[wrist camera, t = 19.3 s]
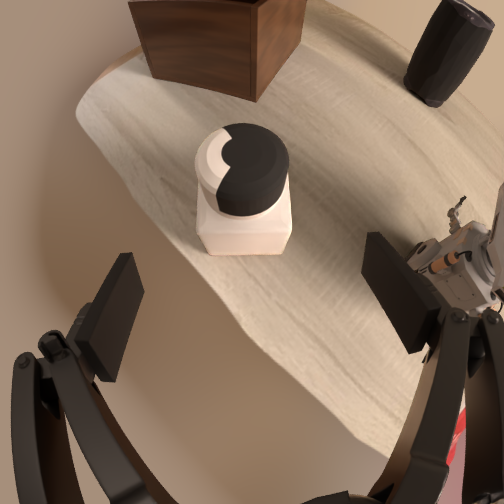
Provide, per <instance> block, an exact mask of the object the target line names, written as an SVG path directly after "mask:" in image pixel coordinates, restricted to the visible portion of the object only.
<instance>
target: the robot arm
mask: <svg viewBox="0 0 504 504" xmlns="http://www.w3.org/2000/svg"><path fill="white" fill-rule="evenodd" d="M361 274H362V275H363V277H364V278H365V280H366V282H367V283H368V285H369V286H370V288H371V290H372V291H373V293H374V294H375V296H376V298H377V299H378V301H379V303H380V304H381V306H382V308H383V309H384V311H385V313H386V315H387V316H388V318H389V320H390V321H391V323H392V325H393V327H394V328H395V330H396V332H397V334H398V336H399V337H400V339H401V341H402V343H403V345H404V346H405V348H406V350H407V352H408V354H412V353H416V352H419V351H422V349H423V347H424V345H425V343H426V342H427V344H428V345H429V347H430V348H429V350H428V352H427V354H426V356H425V357H424V359H423V361H422V363H424V362H425V363H424V366H423V370H422V374H421V377H420V380H419V384H418V387H417V390H416V393H415V396H414V399H413V402H412V405H411V408H410V411H409V413H408V416H407V419H406V421H405V424H404V426H403V429H402V431H401V434H400V436H399V439H398V441H397V443H396V446H395V448H394V450H393V452H392V454H391V457H390V459H389V461H388V463H387V465H386V467H385V469H384V471H383V473H382V475H381V476H380V478H379V479H378V480H377V482H376V483H375V484H374V486H373V487H372V489H371V490H370V492H369V494H368V495H367V496H362V495H353V494H349V493H348V491H343V492H339V493H335V494H331V495H326V496H321V497H317V498H314V499H312V500H309V501H307V502H304V503H302V504H437V503H438V501H439V498H440V495H441V493H442V491H443V488H444V485H445V483H446V480H447V477H448V473H449V466H448V465H447V464H446V460H447V456H448V453H449V450H450V446H451V443H452V439H453V436H454V432H455V428H456V424H457V420H458V415H459V411H460V406H461V401H462V395H463V390H464V388H465V405H466V450H465V467H464V477H463V487H462V504H504V321H503V319H502V317H501V315H500V314H499V313H498V312H497V311H495V310H493V309H485V310H483V312H482V314H481V316H480V317H469V315H468V313H466V312H465V311H464V310H462V309H460V308H456V307H453V308H452V307H451V305H450V304H449V303H448V302H447V300H446V299H445V298H444V297H443V295H442V294H441V293H440V292H439V291H438V289H437V288H436V287H435V286H434V285H433V283H432V282H431V281H430V280H429V278H427V277H426V276H424V275H423V274H421V273H415V272H414V270H413V269H412V268H411V267H410V266H409V265H408V263H407V262H406V261H405V260H404V259H403V258H402V256H401V255H400V254H399V253H398V252H397V251H396V250H395V249H394V247H393V246H392V245H391V244H390V243H389V242H388V241H387V240H386V239H385V238H384V237H383V235H382V234H381V233H380V232H367V239H366V246H365V252H364V259H363V265H362V270H361ZM143 294H144V289H143V286H142V283H141V280H140V276H139V273H138V270H137V267H136V263H135V260H134V257H133V253H132V252H130V253H120V255H119V256H118V258H117V260H116V261H115V263H114V265H113V266H112V268H111V270H110V272H109V274H108V275H107V277H106V279H105V280H104V282H103V284H102V286H101V288H100V290H99V291H98V293H97V295H96V297H95V299H94V300H93V302H92V303H87V304H86V305H85V306H84V307H83V308H82V309H81V310H80V312H79V313H78V315H77V318H76V319H75V321H74V324H73V325H72V327H71V329H70V331H69V333H68V334H67V336H66V339H65V338H64V336H63V335H62V333H61V332H60V331H58V330H51V331H49V332H47V333H45V334H44V335H43V336H42V337H41V338H40V340H39V342H38V348H39V350H40V351H41V353H42V354H43V355H44V358H39V359H36V358H35V356H34V355H33V354H32V353H31V352H24V353H23V354H21V355H19V356H18V357H17V359H16V360H15V363H14V367H13V378H12V393H11V438H12V439H11V440H12V454H13V465H14V473H15V480H16V487H17V493H18V498H19V503H20V504H84V500H83V497H82V494H81V491H80V487H79V483H78V480H77V476H76V472H75V468H74V464H73V460H72V455H71V450H70V445H69V439H68V434H67V427H66V420H65V414H66V417H67V419H68V422H69V424H70V427H71V429H72V431H73V434H74V436H75V438H76V440H77V442H78V444H79V446H80V449H81V451H82V453H83V454H84V457H85V459H86V460H87V462H88V464H89V466H90V468H91V470H92V472H93V474H94V475H95V477H96V479H97V480H98V482H99V484H100V486H101V487H102V489H103V491H104V492H105V494H106V495H107V497H108V498H109V500H110V504H179V503H177V502H176V501H175V500H174V499H173V498H172V497H171V496H170V494H169V493H168V492H167V491H166V490H165V489H164V487H163V486H162V485H161V484H160V482H159V481H158V480H157V479H156V477H155V476H154V475H153V473H151V471H150V470H149V468H148V467H147V466H146V464H145V463H144V461H143V460H142V459H141V457H140V456H139V454H138V453H137V452H136V450H135V449H134V447H133V446H132V444H131V443H130V441H129V440H128V438H127V437H126V436H125V434H124V432H123V431H122V429H121V427H120V426H119V424H118V422H117V421H116V419H115V417H114V416H113V414H112V412H111V411H110V409H109V407H108V405H107V404H106V402H105V400H104V398H103V396H102V395H101V393H100V391H99V389H98V387H97V385H96V383H95V382H94V381H93V380H94V377H95V374H96V375H97V376H98V378H99V379H100V381H103V382H116V378H117V374H118V371H119V368H120V364H121V361H122V357H123V354H124V351H125V348H126V344H127V342H128V338H129V335H130V332H131V329H132V326H133V323H134V320H135V317H136V314H137V312H138V309H139V306H140V303H141V300H142V298H143ZM64 412H65V413H64Z"/></svg>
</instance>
